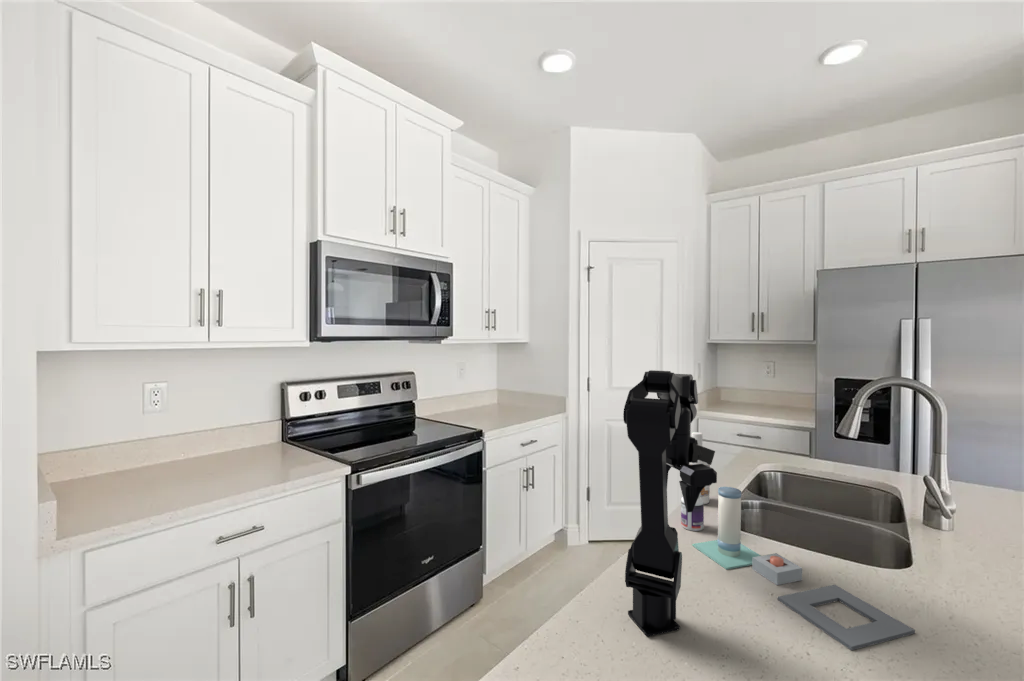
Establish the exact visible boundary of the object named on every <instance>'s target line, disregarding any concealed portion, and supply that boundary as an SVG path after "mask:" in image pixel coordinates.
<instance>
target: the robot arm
mask: <svg viewBox="0 0 1024 681" xmlns="http://www.w3.org/2000/svg"><path fill="white" fill-rule="evenodd" d="M649 393H653V394H655V393H656V395H657V398H650V397H649V398H647V397H648V395H649ZM698 394H699V393H698V386H697V379H694V376H693V374H690V373H675V372H671V370H670V371H669V370H656V369H655V370H653V369H651V370H650V369H649V370H648V371H645V372H644V374H643V377H642V380H641V381H640V382H639V383H636V385H634V387H632V388H631V389H629V392H628V395H627V397H626V401H625V403H624V406H623V407H624V408H623V416H622V417H623V423H624V424H625V425H626V433H627V438H628V439H629V441H630V443H632V445H633V447H634V448H635V450H636V451H637V453H638V472H639V473H638V475H639V476H638V477H639V498H640V500H639V502H640V503H639V504H640V522H641V523H640V527H638V530H637V532H636V535H635V537H634V540H633V541H632V542H631V546H630V547H629V548H628V551H627V555H626V557H627V558H626V563H625V573H624V575H625V576H624V582H625V587H626V588H632V609H630V610H627V615H628V617H630V619H631V620H632V621H633V622H634V623H635V624H636V626H638V628H639V629H640V630H641V632H643V634H644V635H645V636H647V637H652V636H656V635H657V636H658V635H661V634H666V633H671V632H675V631H679V630H680V628H681V627H680V624H678V622H677V621H676V619H677V601H678V600H677V599H678V596H679V592H680V590H681V584H682V569H683V566H682V565H683V554H682V552H681V551H679V548H680V547H679V537H678V531H677V529H676V528H675V527H672V526H670V525H669V517H668V515H669V514H668V481H669V480H668V479H669V471H670V470H671V469H672V468H673V469H676V470H678V471H679V477H680V479H681V480H679V482H678V483H679V487H680V490H681V494H682V496H683V499H684V503H685V507H686V510H687V512H692V511H693V509H694V507H695V504H696V502H697V499H698V497H699V494H700V493H701V491H702V489H703V488H704V487H705V486H709V485H710V486H711V485H712V484H717V483H718V473H717V471H716V470H715V469H714V468H712V467H711V466H712V463H713V461H714V460H713V459H714V457H715V453H716V451H715V450H713V449H711V448H708V447H705V446H703V445H702V446H700V445H698V442H697V440H695V438H693V437H692V431H691V430H692V428H691V427H692V426H691V424H692V423H693V421H694V420H695V418H696V416H697V414H698V413H697V412H698V410H697V407H696V405H698V404H699V396H698ZM698 460H700V461H703V462H706V463H707V464H709V465H710V467H708V466H706V465H704V464H695V465H689V463H690V462H692V463H697V462H698ZM637 571H638V572H637ZM672 579H673V580H672Z"/></svg>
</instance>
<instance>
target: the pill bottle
mask: <svg viewBox="0 0 1024 681" xmlns="http://www.w3.org/2000/svg"><path fill="white" fill-rule="evenodd" d="M700 496H701V493H700V494H699V497H698V499H697V502H696V504H695V507H694V509H693V511H692V512H687V510H686V507H685V503H684V499H683V495H682V496H681V498H680V525H681V527H682V528H683V529H686V530H687V531H693V532H698V531H699V532H700V531H702V530H703V529H704V528H705V524H704V522H705V520H704V519H705V516H704V514H705V513H704V512H705V511H704V509H705V508H704V507H705V504H704V501H703V499H702V498H701V497H700Z"/></svg>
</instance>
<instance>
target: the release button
mask: <svg viewBox="0 0 1024 681" xmlns="http://www.w3.org/2000/svg"><path fill="white" fill-rule="evenodd" d="M770 563H771V564H773V565H774V566H776V567H780V566H783V563H784V560H783V559H782V558H781V557H778V556H771V557H770Z"/></svg>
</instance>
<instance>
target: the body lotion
mask: <svg viewBox="0 0 1024 681" xmlns="http://www.w3.org/2000/svg"><path fill="white" fill-rule="evenodd" d="M691 437H693V438H695V440H697V442H698V445H700V446H703V432H699V431H693V432H692V431H691ZM695 464H704V465H706V466H708V467H711V465H709V464H707V463H706V462H703V461H700V460H698V462H697V463H692V462H690V463H689V465H695ZM710 486H711V485H709V486H705V487H704V488H703V489H702V491H701V496H700V497H701V498H702V499H703V501H704V505H707V504H709V502H710V493H711V492H710Z"/></svg>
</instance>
